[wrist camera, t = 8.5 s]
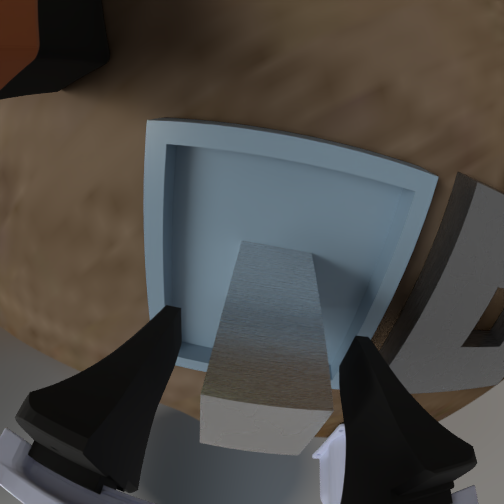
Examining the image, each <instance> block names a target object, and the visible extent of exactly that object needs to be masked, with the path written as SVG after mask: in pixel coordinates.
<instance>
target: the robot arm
mask: <svg viewBox="0 0 504 504" xmlns="http://www.w3.org/2000/svg"><path fill="white" fill-rule="evenodd" d="M181 343H182V330H181V308H179V307H174V306H170V305H166V306H164V307H163V308H162V309H161V310H160V311H159V312H158V313H157V314H156V315H155V316H154V317H153V318H152V319H151V320H150V321H149V322H148V323H147V324H146V325H145V326H144V327H143V328H142V329H140V330H139V331H138V332H137V333H136V334H135V335H134V336H133V337H131V338H130V339H129V340H128V341H126V342H125V343H124V344H123V345H121V346H120V347H119V348H118V349H116V350H115V351H114V352H112V353H111V354H110V355H108V356H107V357H105V358H104V359H102V360H101V361H99V362H98V363H96V364H94V365H93V366H91V367H89V368H87V369H86V370H84V371H82V372H80V373H78V374H76V375H74V376H72V377H70V378H68V379H65V380H64V381H61V382H59V383H56V384H54V385H51V386H48V387H45V388H42V389H39V390H36V391H32V392H30V393H29V395H28V396H27V397H26V399H25V401H24V402H23V404H22V406H21V408H20V409H19V411H18V413H17V415H16V417H15V419H16V421H17V422H18V424H19V425H20V426H21V427H22V428H23V429H24V430H25V431H26V432H27V433H28V434H29V435H30V436H31V437H32V438H33V439H34V442H33V444H32V445H31V444H29V443H28V442H27V441H25V440H24V439H23V438H21V437H20V436H18V435H17V434H15V433H14V432H12V431H11V430H10V429H8V428H5V429H4V431H3V433H2V435H1V436H0V485H1V486H2V487H3V488H4V489H5V490H7V491H8V492H9V493H10V494H12V495H13V496H14V497H16V498H17V499H18V500H19V501H21V502H22V503H23V504H155V503H152V502H149V501H146V500H142V499H139V498H136V497H133V496H130V495H128V494H125V493H122V492H120V491H117V490H116V489H118V490H121V491H123V492H124V491H126V492H128V493H132V492H135V491H137V490H138V486H139V480H140V474H141V468H142V464H143V459H144V455H145V449H146V446H147V442H148V438H149V434H150V430H151V426H152V423H153V419H154V416H155V412H156V410H157V407H158V404H159V402H160V399H161V397H162V395H163V392H164V390H165V388H166V385H167V383H168V380H169V378H170V376H171V373H172V371H173V369H174V366H175V364H176V361H177V357H178V354H179V350H180V347H181ZM339 389H340V396H341V403H342V410H343V418H344V424H340V425H339V426H338V427H337V428H336V429H335V430H334V432H333V433H332V434H331V435H330V436H329V437H328V438H327V440H326V441H325V442H324V443H323V444H322V445H321V446H320V447H319V448H318V450H316V452H315V453H314V454H313V455H312V457H313V458H320V498H321V501H322V503H323V504H478V499H477V494H476V489H475V486H474V485H472V486H470V487H467V488H465V489H462V490H460V491H457V492H455V493H453V494H451V490H450V489H452V488H454V482H453V481H454V480H456V479H457V478H459V477H461V476H462V475H464V474H465V473H467V472H468V471H470V470H471V469H473V468H474V467H475V465H476V464H477V460H476V457H475V452H474V449H473V446H471V445H470V444H468V443H466V442H465V441H463V440H462V439H460V438H458V437H457V436H455V435H454V434H452V433H451V432H450V431H449V430H447V429H446V428H445V427H443V426H442V425H441V424H440V423H439V422H437V421H436V420H435V419H434V418H433V417H432V416H431V415H430V414H429V413H428V412H427V411H426V410H424V409H423V407H422V406H421V405H420V404H419V403H418V402H417V401H416V400H415V399H414V398H413V397H412V395H411V394H410V393H409V392H408V391H407V389H406V388H405V387H404V386H403V384H402V383H401V382H400V381H399V379H398V378H397V377H396V375H395V374H394V372H393V371H392V370H391V368H390V367H389V365H388V364H387V363H386V361H385V360H384V358H383V357H382V355H381V354H380V352H379V351H378V350H377V348H376V347H375V345H374V344H373V342H372V341H371V340H370V338H369V337H366V336H356V335H355V337H354V339H353V341H352V343H351V345H350V347H349V349H348V351H347V353H346V354H345V356H344V358H343V360H342V362H341V364H340V365H339Z"/></svg>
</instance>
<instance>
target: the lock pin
mask: <svg viewBox="0 0 504 504" xmlns="http://www.w3.org/2000/svg"><path fill="white" fill-rule="evenodd" d="M333 411H334V410H333V399H332V390H331V381H330V372H329V364H328V356H327V348H326V340H325V333H324V326H323V319H322V312H321V306H320V299H319V293H318V287H317V281H316V275H315V269H314V264H313V258H312V253H309V252H304V251H298V250H293V249H287V248H281V247H276V246H270V245H264V244H259V243H253V242H247V241H242V242H241V245H240V249H239V253H238V256H237V260H236V264H235V267H234V271H233V275H232V278H231V282H230V286H229V289H228V293H227V297H226V300H225V304H224V308H223V312H222V315H221V319H220V323H219V327H218V330H217V334H216V338H215V342H214V345H213V349H212V353H211V357H210V361H209V364H208V368H207V372H206V376H205V380H204V384H203V388H202V391H201V404H200V443H204V444H209V445H214V446H220V447H225V448H232V449H238V450H246V451H253V452H262V453H272V454H284V455H299V454H300V453H301V452H302V450H303V449H304V448H305V447H306V445H307V444H308V443H309V442H310V441H311V440H312V438H313V437H314V436H315V435H316V433H317V432H318V431H319V430H320V428H321V427H322V426H323V425H324V423H325V422H326V421H327V419H328V418H329V417H330V415H331V414H332V413H333Z"/></svg>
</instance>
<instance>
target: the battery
mask: <svg viewBox="0 0 504 504" xmlns="http://www.w3.org/2000/svg"><path fill="white" fill-rule="evenodd" d="M108 60H109V48H108V42H107V36H106V30H105V24H104V18H103V10H102V3H101V0H0V99H6V98H11V97H18V96H25V95H32V94H41V93H50V92H58V91H60V90H61V89H63V88H64V87H66V86H68V85H69V84H71V83H73V82H74V81H76V80H77V79H79V78H81V77H83V76H84V75H86V74H88V73H90V72H91V71H93V70H95V69H97V68H99V67H101V66H102V65H104V64H106V63H107V62H108Z"/></svg>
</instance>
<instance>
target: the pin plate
mask: <svg viewBox="0 0 504 504" xmlns="http://www.w3.org/2000/svg"><path fill="white" fill-rule="evenodd" d="M498 287H500V288H504V193H502V192H500V191H498V190H496V189H494V188H492V187H490V186H488V185H486V184H484V183H482V182H480V181H478V180H476V179H473V178H471V177H469V176H467V175H464V174H462V173H460V172H458V173H457V176H456V180H455V183H454V186H453V190H452V193H451V196H450V199H449V202H448V205H447V208H446V211H445V214H444V217H443V219H442V222H441V225H440V228H439V230H438V233H437V235H436V238H435V241H434V243H433V246H432V248H431V250H430V253H429V255H428V258H427V260H426V262H425V264H424V267H423V269H422V271H421V273H420V276H419V278H418V280H417V282H416V284H415V286H414V288H413V290H412V292H411V294H410V296H409V298H408V300H407V302H406V304H405V306H404V308H403V310H402V312H401V314H400V316H399V318H398V319H397V321H396V323H395V325H394V327H393V328H392V330H391V332H390V334H389V336H388V337H387V339H386V341H385V342H384V344H383V346H382V347H381V349H380V351H379V352H380V354H381V355H382V357H383V358H384V360H385V361H386V363H387V364H388V365H389V367H390V368H391V370H392V371H393V372H394V374H395V375H396V377H397V378H398V379H399V381H400V382H401V383H402V384H403V386H404V387H405V388H406V389H407V391H408V392H409V393H410V394H412V393H430V392H443V391H454V390H463V389H471V388H478V387H485V386H492V385H497V384H498V383H499V382H500V381H501V380H502V379H503V377H504V309H503V311H502V313H501V314H500V316H499V318H498V319H497V321H496V322H495V324H494V326H493V327H492V329H491V330H490V331H480V330H473V328H474V327H475V325H476V324H477V322H478V321H479V319H480V317H481V316H482V314H483V312H484V311H485V309H486V307H487V306H488V304H489V302H490V301H491V299H492V297H493V295H494V293H495V292H496V290H497V288H498Z"/></svg>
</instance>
